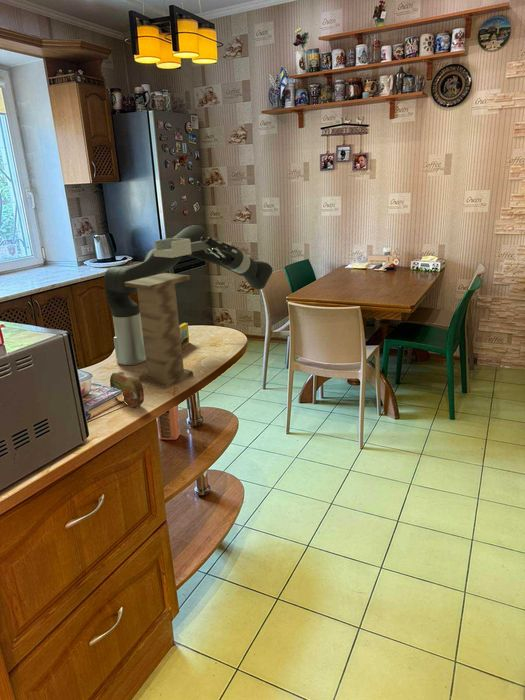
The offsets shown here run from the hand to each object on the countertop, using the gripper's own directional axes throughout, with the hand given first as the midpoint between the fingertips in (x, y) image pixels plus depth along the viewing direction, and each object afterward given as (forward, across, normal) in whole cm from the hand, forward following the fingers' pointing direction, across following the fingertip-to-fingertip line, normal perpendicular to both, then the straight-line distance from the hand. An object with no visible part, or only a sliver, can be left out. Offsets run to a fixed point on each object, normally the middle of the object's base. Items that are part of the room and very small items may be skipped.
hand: (204, 240), depth 160 cm
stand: (-2, +1, -46) cm, 46 cm away
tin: (+14, -2, -56) cm, 57 cm away
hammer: (+4, 0, -6) cm, 7 cm away
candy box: (-21, +18, -36) cm, 45 cm away
